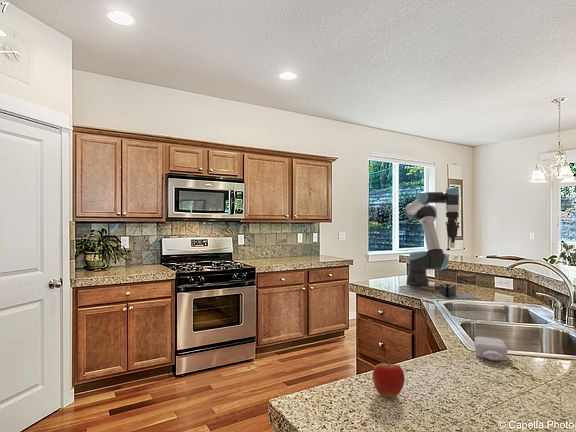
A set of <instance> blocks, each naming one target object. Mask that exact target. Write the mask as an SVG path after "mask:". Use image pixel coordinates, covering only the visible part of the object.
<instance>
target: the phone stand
mask: <svg viewBox="0 0 576 432" xmlns="http://www.w3.org/2000/svg"><path fill="white" fill-rule="evenodd" d="M439 284H440V285H439V294H442V295H444V296H445V297H447V296H448V298H449V297H451V296H453V295H456V294H457V287H456V286H457V285H456V284H448V283H439Z"/></svg>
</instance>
